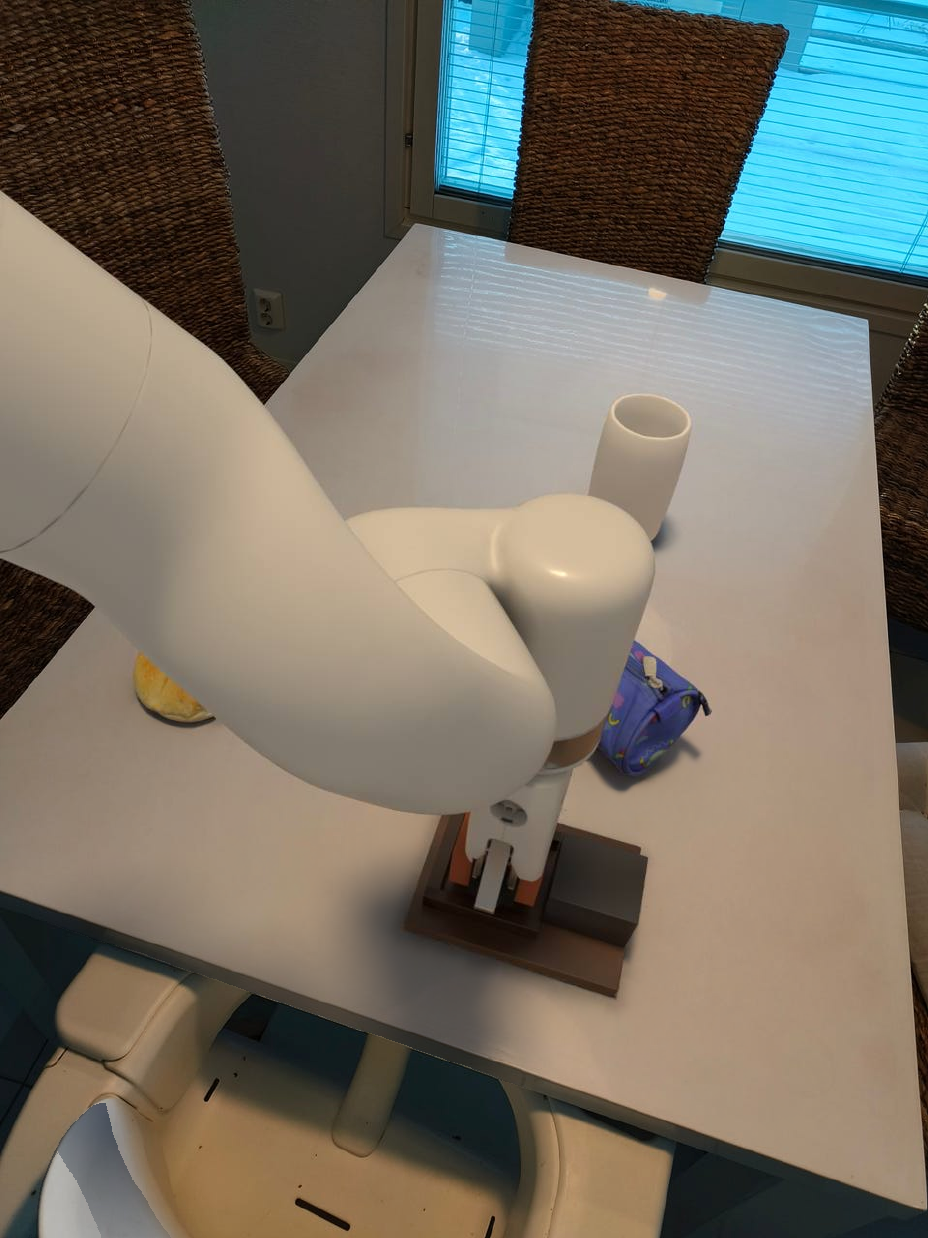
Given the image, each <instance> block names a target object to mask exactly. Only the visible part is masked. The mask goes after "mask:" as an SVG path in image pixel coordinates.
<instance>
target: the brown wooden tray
mask: <svg viewBox="0 0 928 1238" xmlns="http://www.w3.org/2000/svg"><path fill="white" fill-rule="evenodd" d="M465 814H466V812H465V813H460V814H450V815H440V817H439V820H438V823H437V827H436V830H435V832H434V834H433V838H432V841H431V844H430V847H429V850H428V852H427V855H426V858H425V861H424V863H423V866H422V870H421V873H420V875H419V878H418V881H417V883H416V887H415V889H414V892H413V895H412V897H411V901H410V904H409V907H408V909H407V911H406V915H405V918H404V920H403V930H404V931H408V932H410V933H413V934H417V935H419V936H423V937H426V938H429V939H432V940H435V941H437V942H438V941H439V942H442V943H444V944H448V945H451V946H454V947H457V948H460V949H463V950H466V951H469V952H472V953H475V954H478V955H482V956H485V957H488V958H492V959H495V960H498V961H501V962H504V963H507V964H510V965H512V966H516V967H519V968H523V969H525V970H528V971H532V972H535V973H538V974H541V975H544V976H548V977H550V978H553V979H557V980H559V981H563V982H566V983H569V984H572V985H575V986H578V987H581V988H585V989H588V990H591V991H594V992H597V993H601V994H604V995H607V996H609V997H616V995H617V993H618V992H619V989H620V983H621V982H620V981H621V975H622V970H623V963H624V958H625V950H626V947H627V945H628V943H629V941H630V940H631V938H632V936H633V935H634V932H635V930H636V929H637V927H638V925H639V922H640V915H641V908H642V902H643V895H644V889H645V882H646V875H647V869H648V863H649V857H648V856H646V855H643V854H641V851H642V847H641V846H638V845H635V844H632V843H628V842H624V841H622V840H617V839H615V838H611V837H609V836H604V835H601V834H598V833H595V832H592V831H587V830H584V829H581V828H577V827H575V826H571V825H567V824H564V823H561V822H557V825H556V829H555V832H554V835H553V839H552V842H551V845H550V849H549V852H548V857H547V861H546V865H545V869H544V873H543V877H542V881H541V884H540V887H539V890H538V893H537V896H536V899H535V902H534V906H529V905H526V904H523V903H520V902H517V901H514V903H513V906H510V907H509V906H505V905H502V904H501V905H500V906H498V907H495V911H494V914H490V913H487V912H484V911H481V910H477V909H474V905H475V902H476V898H477V897H476V896H473V895H470V894H469V893H468V892H467V889H468V886H465V885H462V884H459V883H456V882H453V881H449V875H450V868H451V862H452V855H453V851H454V847H455V844H456V841H457V838H458V835H459V832H460V829H461V826H462V823H463V820H464V817H465Z"/></svg>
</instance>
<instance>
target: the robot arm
mask: <svg viewBox="0 0 928 1238" xmlns="http://www.w3.org/2000/svg"><path fill="white" fill-rule="evenodd" d="M655 555H656V554H655V551H654V547H653V543H652V541H650V540H649V538H648V536H647V534H646V532H645V531H644V529H643V528H642V527H641V525H640V524H639V523H638V522H637V521H636V520H635V519H634V518H633V517H632V516H631V515H629V514H628V513H627V512H625V511H624V510H622V509H621V508H619V507H617V506H615V505H613V504H611V503H609V502H607V501H605V500H602V499H599V498H596V497H593V496H588V494H584V493H575V492H556V493H555V492H553V493H546V494H543V495H538V496H535V497H533V498H530V499H528V500H525V501H523V502H522V503H520V504H518V505H517V506H513V507H500V508H499V507H498V508H497V507H496V508H493V507H492V508H490V507H489V508H470V507H469V508H467V507H466V508H465V507H432V506H429V507H428V506H406V507H405V506H403V507H402V506H401V507H390V508H389V507H388V508H381V509H374V510H370V511H365V512H362V513H359V514H357V515H354V516H351V517H348V518H346V519H344V517H343V516H342V515H341V513H340V512H339V510H338V509H337V508H336V507H335V505H334V504H333V502H332V501H331V499H330V497H329V496H328V495H327V493H326V492H325V490H324V489H323V488H322V485H320V483H319V481H318V480H317V478H316V477H315V476H314V474H313V472H312V471H311V469H310V468H309V466H308V465H307V464H306V462H305V461H304V459H303V457H302V456H301V454H300V453H299V451H298V450H297V449H296V447H295V445H294V444H293V442H292V440H290V438H289V437H288V435H287V434H286V432H285V431H284V430H283V428H282V426H280V424H279V423H278V421H277V420H276V419H275V418H274V417H273V415H272V413H270V412H269V410H268V409H267V408H266V406H265V405H264V404H263V403H262V401H261V400H260V399H259V397H257V395H256V394H255V393H254V392H253V391H252V389H251V388H250V387H249V386H248V385H247V384H246V382H244V380H243V379H242V378H241V377H240V376H239V375H238V374H237V372H235V371H234V369H233V368H232V367H231V366H230V365H229V364H228V363H227V362H226V361H225V360H224V359H223V358H222V357H221V356H220V355H218V354H217V353H216V352H215V351H213V350H212V349H211V348H209V346H207V345H205V343H203V342H202V341H201V340H199V339H198V338H196V337H195V336H194V335H192V334H191V333H190V332H188V331H187V330H185V328H182V327H181V326H180V325H178V324H177V323H176V322H174V320H172V319H170V318H169V317H168V316H167V315H165V314H164V313H163V312H161V310H159V309H158V308H156V307H155V306H153V304H151V303H150V302H148V301H147V300H146V299H144V298H143V297H142V296H141V295H139V294H138V293H136V292H135V291H133V290H132V289H130V287H128V286H127V285H125V284H124V283H122V282H121V281H120V280H119V279H118V278H116V276H114V275H112V274H111V273H110V272H108V271H107V270H105V269H104V268H103V267H102V266H100V265H99V264H97V263H96V262H95V261H94V260H92V259H91V258H90V257H88V256H87V255H86V254H84V252H82V251H81V250H79V249H78V248H77V247H75V246H74V245H73V244H72V243H70V242H69V241H68V240H66V239H64V238H63V237H62V236H61V235H60V234H58V233H57V232H56V231H54V230H53V229H52V228H50V227H49V226H48V225H47V224H45V223H43V221H41V220H40V219H38V217H36V216H34V215H33V214H32V213H31V212H29V211H28V210H27V209H25V208H24V207H23V206H21V205H20V204H19V203H17V202H16V201H15V200H13V198H11V197H10V196H9V195H8V194H6V193H5V192H3V191H2V190H0V559H1V560H4V561H6V562H8V563H11V564H13V565H16V566H18V567H20V568H22V569H26V570H28V571H30V572H32V573H35V574H37V575H40V576H42V577H45V578H46V579H49V580H51V581H53V582H55V583H57V584H59V585H62V586H64V587H66V588H68V589H70V590H72V591H74V592H75V593H77V594H78V595H80V596H81V597H83V598H84V599H86V600H87V601H88V602H89V603H91V604H92V605H93V606H94V607H95V608H96V609H97V611H99V612H100V613H101V614H102V615H103V616H104V617H105V618H106V619H107V620H108V621H109V622H110V623H111V624H112V625H113V626H114V627H115V628H116V630H117V631H119V632H120V634H121V635H122V636H123V637H124V638H125V639H126V640H127V641H128V642H129V643H130V644H131V645H132V646H133V647H134V648H135V649H136V650H137V652H138V653H139V652H141V653H142V654H143V655H144V656H145V657H146V658H147V659H148V660H149V661H150V662H151V663H152V664H154V665H155V666H156V667H157V668H158V669H159V670H160V671H161V672H163V673H164V674H165V675H166V676H167V677H168V678H169V679H171V680H172V681H173V682H174V683H175V684H177V685H178V686H179V687H180V688H181V689H182V690H184V691H185V692H186V693H187V694H189V695H190V696H191V697H192V698H193V699H195V700H196V701H197V702H198V703H199V704H200V705H202V706H203V707H204V708H205V709H206V710H207V711H208V712H209V713H211V714H212V715H213V717H214V718H215V719H216V720H217V721H218V722H219V723H221V724H222V725H223V726H224V727H225V728H227V729H228V730H229V731H230V732H231V733H232V734H233V735H235V736H236V737H237V738H239V739H240V740H241V741H242V742H244V744H246V745H247V746H248V747H250V748H251V749H252V750H254V751H255V752H256V753H258V754H259V755H260V756H262V757H263V758H265V759H267V760H268V761H269V762H270V763H272V764H274V765H275V766H277V767H278V768H280V769H281V770H283V771H284V772H285V773H287V774H290V775H292V776H293V777H295V778H297V779H298V780H301V781H303V783H307V784H308V785H311V786H313V787H316V788H318V789H320V790H323V791H325V792H328V793H332V794H335V795H338V796H341V797H344V798H345V797H346V798H348V799H352V800H356V801H359V802H362V803H365V804H369V805H373V806H376V807H379V808H384V809H387V810H393V811H396V812H400V813H401V812H402V813H408V814H415V815H427V816H428V815H430V816H441V815H450V814H460V813H465V812H470V816H469V823H468V830H467V837H466V846H465V852H466V855H467V857H468V859H469V861H470V862H471V863H472V862H473V864H472V868H471V873H470V878H469V884H468V889H467V892H468V893H469V894H470V895H473V896H476V897H477V898H476V902H475V905H474V909H477V910H481V911H484V912H487V913H490V914H494V911H495V907H498V906H500V905H501V904H502V905H505V906H509V907H510V906H513V903H514V900H515V896H516V893H517V889H518V886H519V882H520V879H523V880H527V881H531V882H533V881H536V880H537V879H539V878H540V877H541V876H542V873H543V870H544V866H545V863H546V859H547V856H548V852H549V849H550V845H551V842H552V839H553V835H554V832H555V829H556V825H557V823H559V818H560V815H561V812H562V809H563V805H564V803H565V799H566V796H567V794H568V793H567V792H568V789H569V786H570V783H571V780H572V779H571V778H572V776H573V771H574V769H576V768H577V767H579V766H581V765H582V764H584V763H585V762H586V761H587V760H589V758H590V757H591V756H592V755H593V754H594V753H595V752H596V750H597V748H598V747H597V746H598V744H599V741H600V738H601V735H602V732H603V730H604V727H605V724H606V721H607V718H608V715H609V712H610V709H611V706H612V703H613V700H614V698H615V695H616V692H617V689H618V686H619V683H620V680H621V677H622V674H623V671H624V668H625V665H626V662H627V659H628V656H629V654H630V651H631V648H632V645H633V642H634V640H635V639H636V636H637V634H638V630H639V627H640V625H641V622H642V619H643V615H644V614H645V610H646V608H647V604H648V601H649V598H650V596H651V592H652V588H653V585H654V581H655V576H656V557H655ZM486 855H488V856H487V859H486ZM485 859H486V861H485ZM507 862H511V864H512V866H509V865H507ZM510 867H511V868H510Z"/></svg>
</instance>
